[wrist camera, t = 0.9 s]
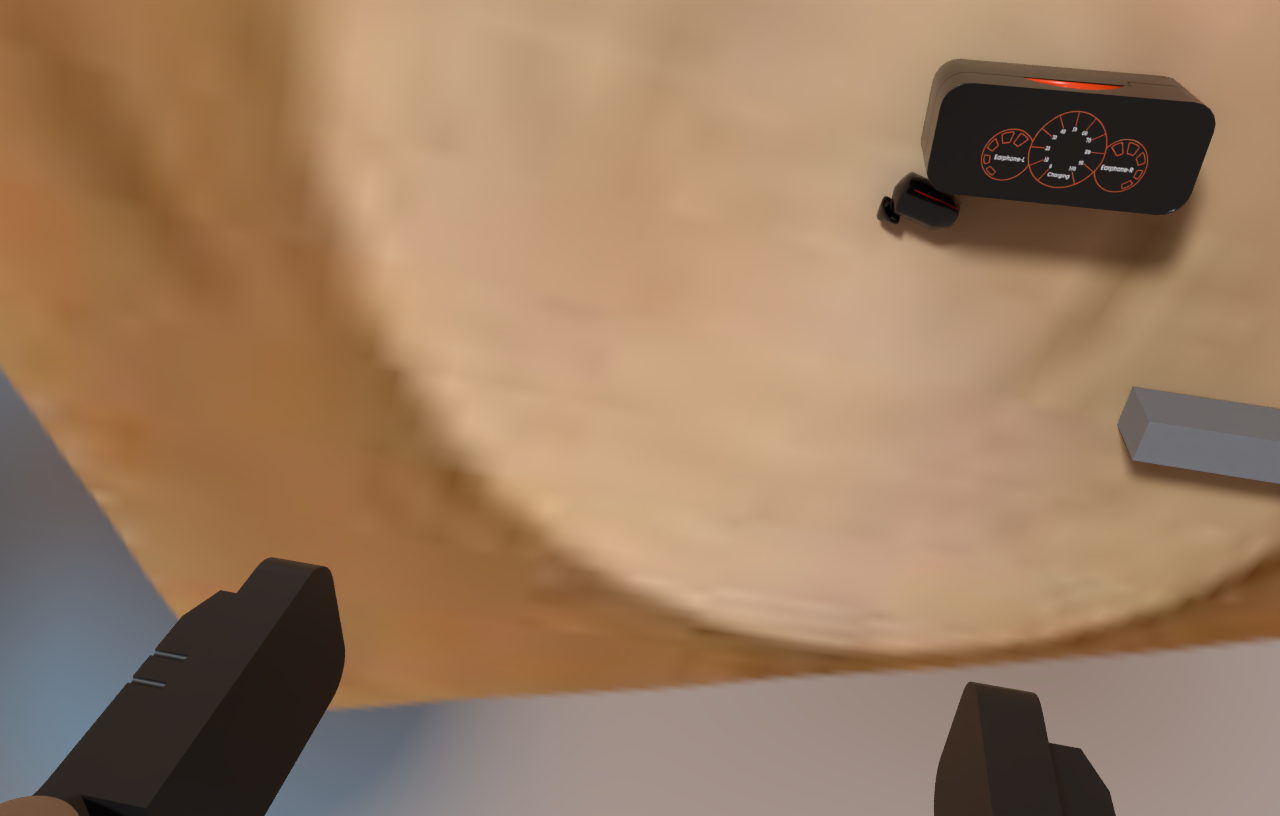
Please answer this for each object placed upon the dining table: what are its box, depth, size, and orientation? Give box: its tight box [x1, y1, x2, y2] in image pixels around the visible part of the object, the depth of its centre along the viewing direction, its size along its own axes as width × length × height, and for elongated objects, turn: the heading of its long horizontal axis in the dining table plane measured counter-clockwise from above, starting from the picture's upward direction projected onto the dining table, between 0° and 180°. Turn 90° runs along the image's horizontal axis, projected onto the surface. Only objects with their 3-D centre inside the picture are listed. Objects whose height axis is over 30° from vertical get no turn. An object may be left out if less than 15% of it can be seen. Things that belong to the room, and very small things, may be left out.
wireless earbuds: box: [877, 59, 1215, 229], centre depth 25 cm, size 5×7×3 cm, turn 88°
